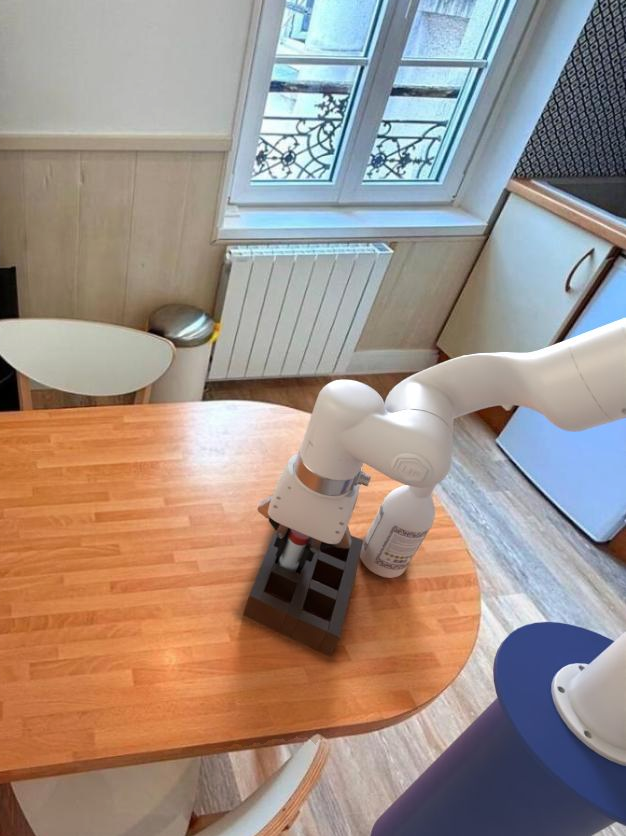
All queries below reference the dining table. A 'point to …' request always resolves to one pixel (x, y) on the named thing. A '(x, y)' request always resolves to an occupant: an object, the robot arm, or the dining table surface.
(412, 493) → the bath foam
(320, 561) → the rack
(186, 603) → the dining table surface
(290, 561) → the test tube
